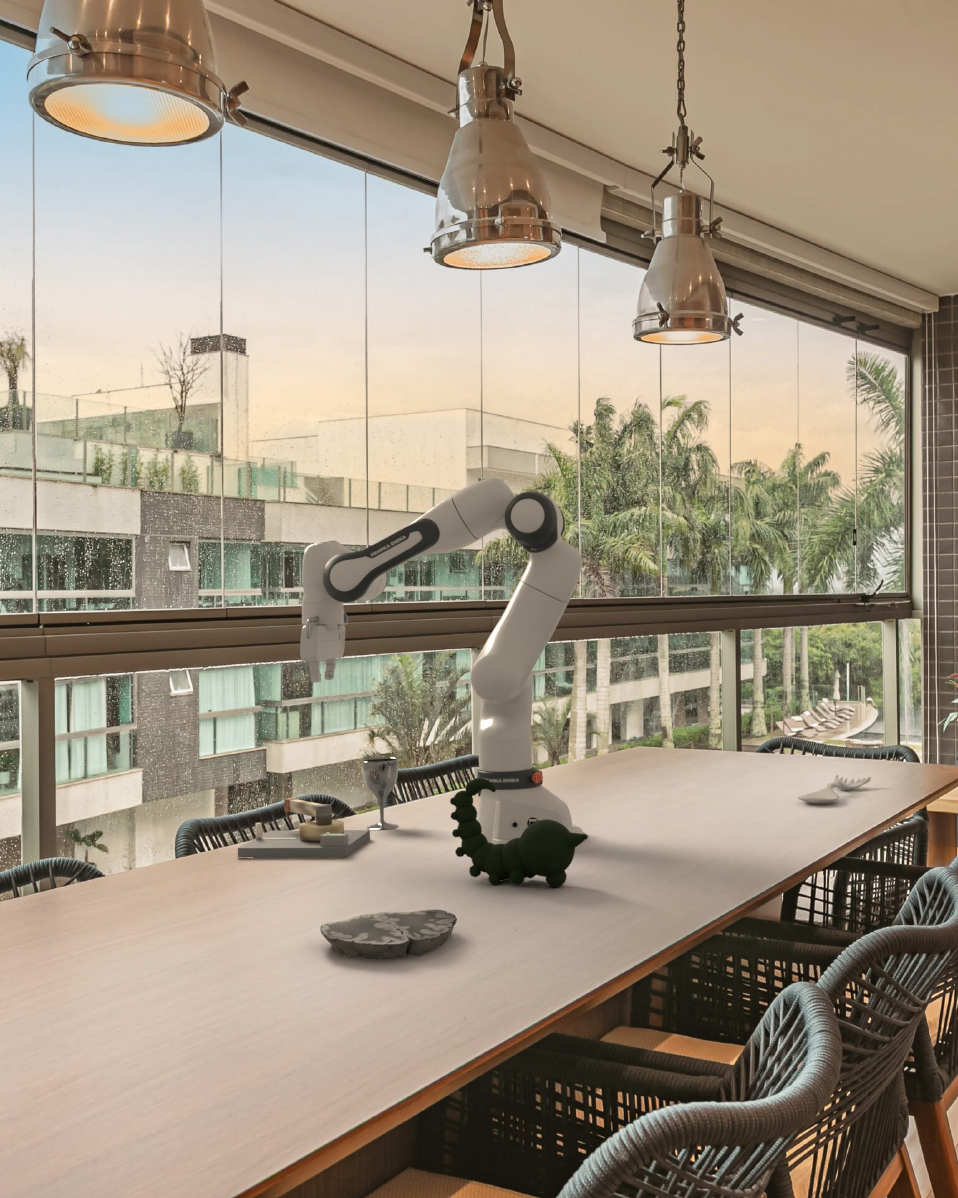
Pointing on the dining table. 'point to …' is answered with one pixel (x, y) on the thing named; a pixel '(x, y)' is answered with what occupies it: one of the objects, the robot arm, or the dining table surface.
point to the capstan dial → (323, 819)
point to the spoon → (828, 794)
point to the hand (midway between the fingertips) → (322, 681)
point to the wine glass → (380, 783)
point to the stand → (303, 844)
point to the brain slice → (390, 933)
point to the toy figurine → (513, 844)
